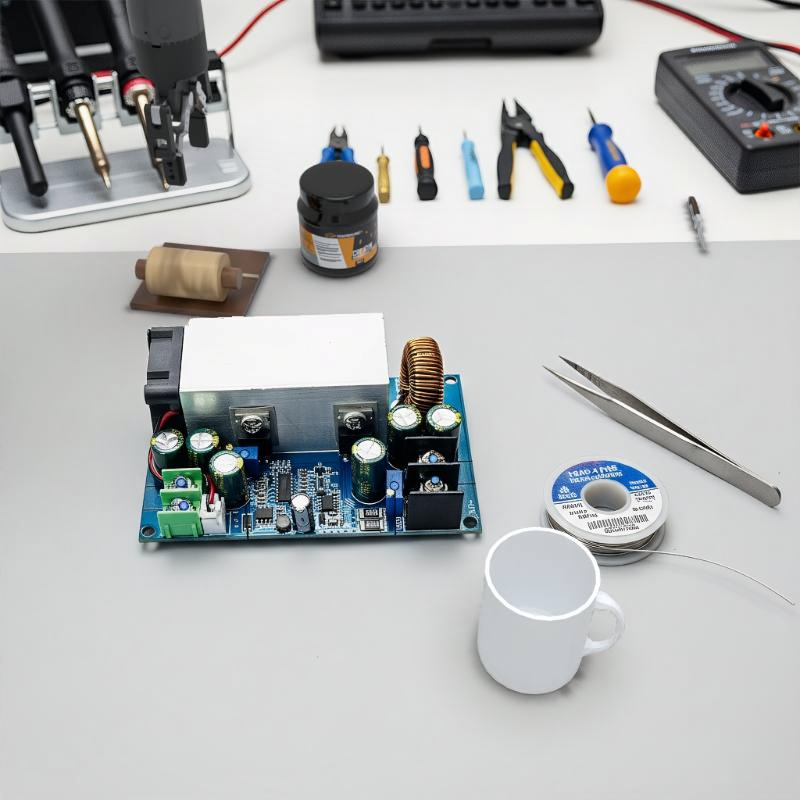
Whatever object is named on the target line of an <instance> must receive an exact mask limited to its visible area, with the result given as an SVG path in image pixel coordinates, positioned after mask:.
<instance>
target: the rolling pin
mask: <svg viewBox="0 0 800 800" xmlns="http://www.w3.org/2000/svg"><path fill="white" fill-rule="evenodd" d="M134 275H135V278H136V279H137V280H140V281H143V280H146V285H147V289H148V291H149V293H150V294H153V295H162V296H172V297H182V298H192V299H202V300H212V301H224V300H225V299H226V297H227V294H228V291H229V289H240V287H241V284H242V270H241V269H240V268H231V264H230V259H229V256H228V254H226V253H220V252H210V251H199V250H189V249H178V248H168V247H162V246H159V245H156V246H155V245H154V246H153V247H151V249H150V250H149V253H148V255H147V258H138V259H137V260H136V262H135V265H134Z"/></svg>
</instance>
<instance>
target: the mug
mask: <svg viewBox="0 0 800 800" xmlns="http://www.w3.org/2000/svg"><path fill="white" fill-rule="evenodd" d="M600 586H601V570H600V568H599V565H598V563H597V560H596V557H595V556H594V555H593V553H591V551H590V549H589V548H588V547H587V546H585V544H583V543H582V542H581V541H580V540H579V539H577V538H575V537H573V536H572V535H570V534H568V533H567V532H564V531H561V530H558V529H554V528H551V527H542V526H540V527H539V526H532V527H524V528H520V529H519V528H518V529H516V530H513V531H511V532H510V531H509V532H508V533H507V534H505V535H504V536H502V537H500V538H498V540H497V541H496V542H495V543H494V544H493V545H492V547H491V548H490V549H489V551H488V553H487V556H486V559H485V564H484V573H483V584H482V592H481V601H480V611H479V618H478V619H479V620H478V629H477V641H476V642H477V650H478V655H479V659H480V663H482V666H483V667H484V669H485V671H486V672H487V673H488V674H489V675H490V676H491V677H492V678H493V679H494V680H495V681H496V682H497V683H499V684H500V685H502V686H504V687H505V688H507V689H508V690H512V691H515V692H518V693H521V694H529V695H541V694H548V693H549V694H550V693H552V692H554V691H557V690H559V689H561V688H563V687H564V686H565V685H567V684H568V683H569V682H570V681H571V680H572V679H573V678H574V676H575V675H576V673H577V672H578V670H579V667H580V665H581V662H582V661H583V657H585V656H588V655H591V654H602V653H605V652H608V651H610V650H612V649H613V648H614V647H615V646H616V645H617V644H618V643H619V642H620V640H621V638H622V637H623V635H624V632H625V627H626V619H625V615H624V612H623V610H622V607H621V606H620V605H619V604H618V602H616V600H614V598H612V597H611V596H610V595H608V594H607V593H606V592H605V591H601V590H600ZM594 612H609V613H610V614H611V615H612V616H613V617H614V618H615V628H614V632H613V633H612V634H611V636H610V637H608V638H606V639H605V640H601V641H595V640H592V639H591V637H589V633H590V629H591V624H592V620H593V617H594V616H593V615H594Z"/></svg>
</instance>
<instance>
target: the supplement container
mask: <svg viewBox="0 0 800 800" xmlns="http://www.w3.org/2000/svg"><path fill="white" fill-rule="evenodd" d="M298 186H299V187H298V188H299V196H298V198H297V201H296V211H297V215H298V216H297V217H298V228H299V229H298V230H299V242H300V249H299V251H300V257H301V259H302V261H303V262H304V264H305V265H306V266H307V267H308V268H309V269H310V270H312V271H314V272H316V273H318V274H320V275H324V276H328V277H339V278H340V277H348V276H354V275H357V274H360V273H362V272H364V271H366V270H368V269H369V268H370V267H371V266H372V265H373V264H374V263H375V262H376V261H377V258H378V255H379V250H380V249H379V228H378V227H379V225H378V224H379V220H378V219H379V216H378V214H379V213H378V211H379V198H378V196H377V194H376V193H375V177H374V175H373V172H372V171H370V170H369V169H368V168H367V167H365V166H363V165H362V164H359V163H356V162H352V161H347V160H328V161H323V162H319V163H316V164H313V165H312V166H309V167H308V168H307V169H305V170H304V171H303V172H302V173H301V175H300V176H299V180H298Z"/></svg>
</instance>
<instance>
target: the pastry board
mask: <svg viewBox="0 0 800 800" xmlns="http://www.w3.org/2000/svg"><path fill="white" fill-rule="evenodd" d="M161 247H168V248H178V249H189V250H199V251H210V252H220V253H226V254H228V256H229V259H230V264H231V268H240V269H241V270H242V284H241V287H240V289H229V291H228V294H227V297H226V299H225V300H224V301H212V300H202V299H192V298H182V297H172V296H162V295H153V294H150V293H149V291H148V289H147V285H146V280H141V283H140V284H139V286H138V288H137V289H136V291H135V293H134V294H133V296H132V298H131V300H130V302H129V305H130V306H129V307H130V309H131V310H137V311H145V312H157V313H165V314H176V315H187V316H196V317H205V318H214V317H232V316H245V317H246V315H247V313H248V310H249V308H250V306H251V304H252V301H253V299H254V297H255V294H256V292H257V289H258V288H259V285H260V283H261V280H262V278H263V276H264V273H265V271H266V269H267V266H268V265H269V262H270V259H271V253H270V251H262V250H253V249H252V250H251V249H238V248H232V247H231V248H230V247H220V246H219V247H218V246H210V245H209V246H208V245H198V244H189V243H178V242H166V241H165V242H164V243H163V244H162V246H161Z"/></svg>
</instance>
